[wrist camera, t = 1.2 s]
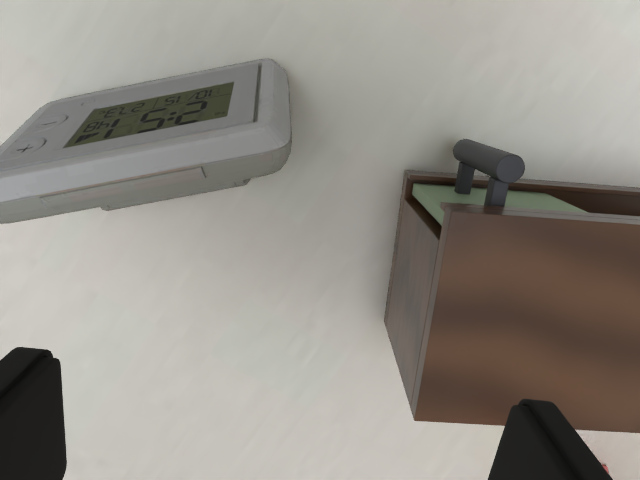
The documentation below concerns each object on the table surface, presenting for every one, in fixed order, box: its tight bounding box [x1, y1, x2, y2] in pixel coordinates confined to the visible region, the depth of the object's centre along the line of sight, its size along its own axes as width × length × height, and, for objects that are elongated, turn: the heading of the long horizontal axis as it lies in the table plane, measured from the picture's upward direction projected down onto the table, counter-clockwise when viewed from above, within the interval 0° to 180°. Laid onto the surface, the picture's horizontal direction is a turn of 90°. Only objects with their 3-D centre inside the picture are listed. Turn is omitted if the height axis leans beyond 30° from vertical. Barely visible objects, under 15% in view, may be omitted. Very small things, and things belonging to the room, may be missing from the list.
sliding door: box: [412, 139, 588, 226], centre depth 26 cm, size 4×9×8 cm, turn 86°
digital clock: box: [0, 59, 292, 224], centre depth 25 cm, size 16×9×11 cm, turn 89°
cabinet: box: [384, 170, 640, 433], centre depth 28 cm, size 12×18×11 cm, turn 86°
